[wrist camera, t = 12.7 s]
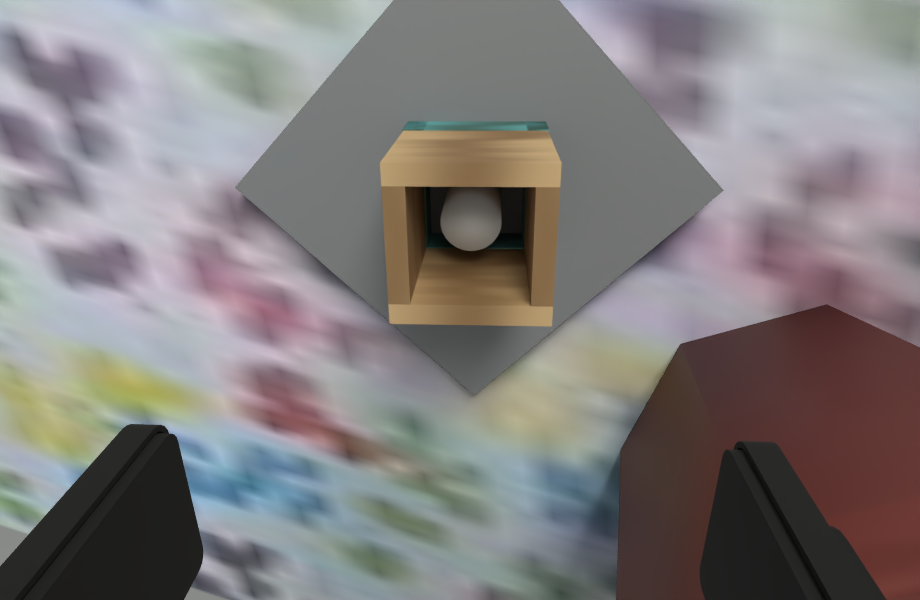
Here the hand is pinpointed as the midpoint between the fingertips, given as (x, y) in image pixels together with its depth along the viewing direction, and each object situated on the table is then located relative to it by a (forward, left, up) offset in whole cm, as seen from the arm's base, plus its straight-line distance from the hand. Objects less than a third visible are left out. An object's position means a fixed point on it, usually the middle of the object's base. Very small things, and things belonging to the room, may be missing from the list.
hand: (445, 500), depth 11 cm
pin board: (0, 0, -22) cm, 22 cm away
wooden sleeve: (0, 0, -21) cm, 21 cm away
